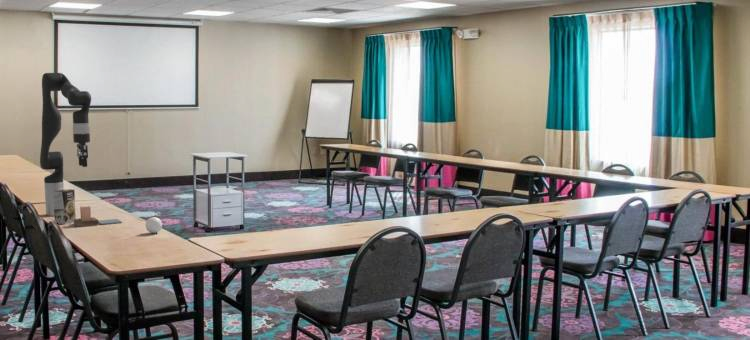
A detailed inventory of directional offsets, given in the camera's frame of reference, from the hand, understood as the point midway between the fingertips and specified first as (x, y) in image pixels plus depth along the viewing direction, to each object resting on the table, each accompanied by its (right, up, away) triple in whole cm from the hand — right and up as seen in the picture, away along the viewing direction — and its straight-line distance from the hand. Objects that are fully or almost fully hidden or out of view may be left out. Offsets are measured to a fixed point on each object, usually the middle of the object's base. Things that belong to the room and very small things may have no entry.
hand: (83, 166), depth 386 cm
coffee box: (-12, -28, +9) cm, 32 cm away
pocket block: (0, -28, +3) cm, 29 cm away
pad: (+10, -28, +8) cm, 31 cm away
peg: (0, -29, +3) cm, 29 cm away
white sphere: (+39, -31, -20) cm, 54 cm away
